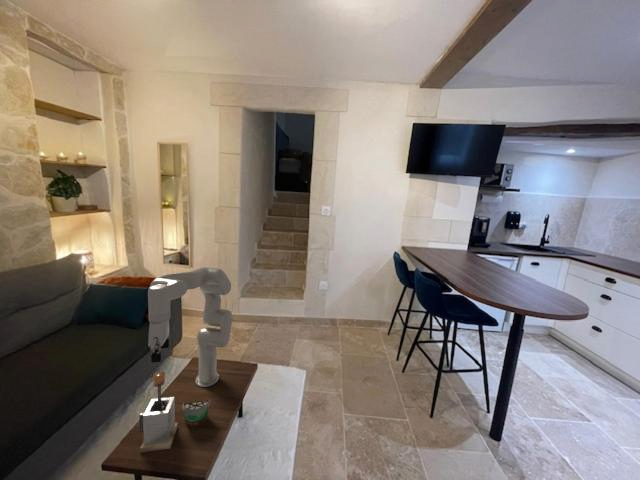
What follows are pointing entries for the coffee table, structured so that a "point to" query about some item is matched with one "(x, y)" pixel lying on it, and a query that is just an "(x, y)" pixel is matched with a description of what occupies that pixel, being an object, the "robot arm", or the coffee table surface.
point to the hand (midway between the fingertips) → (160, 354)
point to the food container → (196, 413)
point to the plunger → (159, 386)
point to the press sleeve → (158, 421)
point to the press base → (160, 446)
